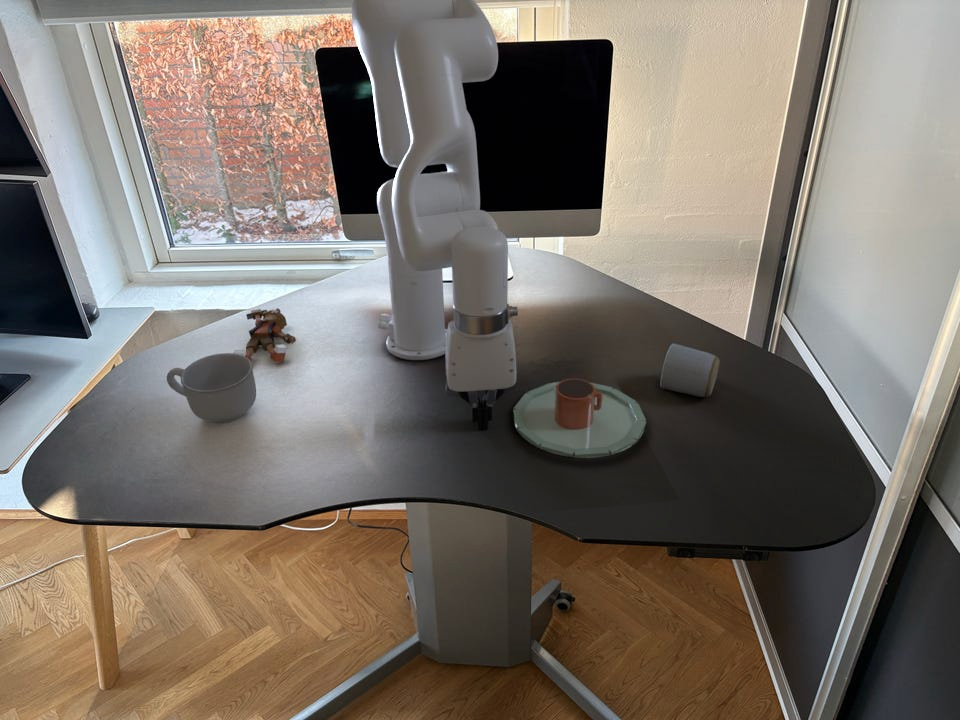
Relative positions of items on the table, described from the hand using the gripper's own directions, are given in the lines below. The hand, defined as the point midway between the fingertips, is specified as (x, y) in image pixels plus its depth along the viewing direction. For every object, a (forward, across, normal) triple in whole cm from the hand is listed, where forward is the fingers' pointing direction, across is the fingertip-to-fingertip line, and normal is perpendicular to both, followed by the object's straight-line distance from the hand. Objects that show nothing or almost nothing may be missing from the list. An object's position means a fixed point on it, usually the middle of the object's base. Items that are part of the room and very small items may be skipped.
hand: (481, 423), depth 110 cm
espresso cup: (0, -14, 0) cm, 14 cm away
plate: (+1, -15, 0) cm, 15 cm away
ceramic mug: (+2, -36, -8) cm, 37 cm away
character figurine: (+2, +37, -34) cm, 50 cm away
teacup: (+2, +42, -12) cm, 43 cm away
